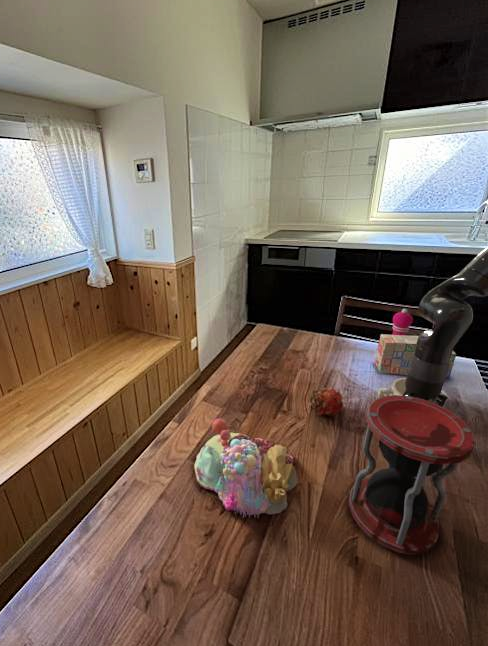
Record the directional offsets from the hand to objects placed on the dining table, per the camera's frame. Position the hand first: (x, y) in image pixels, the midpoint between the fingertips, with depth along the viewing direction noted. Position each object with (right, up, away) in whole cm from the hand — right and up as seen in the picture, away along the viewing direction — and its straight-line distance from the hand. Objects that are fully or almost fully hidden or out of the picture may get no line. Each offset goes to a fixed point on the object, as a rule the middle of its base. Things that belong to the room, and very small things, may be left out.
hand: (411, 427), depth 89 cm
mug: (+7, +3, +13) cm, 15 cm away
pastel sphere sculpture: (-45, -9, -6) cm, 47 cm away
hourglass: (-16, -13, -18) cm, 27 cm away
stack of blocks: (+19, +10, +29) cm, 36 cm away
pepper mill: (+18, +14, +37) cm, 43 cm away
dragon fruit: (-18, +1, +12) cm, 21 cm away
